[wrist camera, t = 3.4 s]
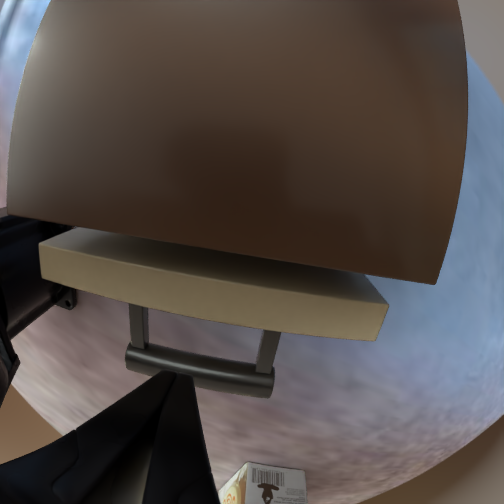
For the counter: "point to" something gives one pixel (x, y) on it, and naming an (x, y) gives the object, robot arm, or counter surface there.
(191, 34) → the cabinet
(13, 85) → the counter surface
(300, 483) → the coffee box
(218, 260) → the drawer
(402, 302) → the counter surface
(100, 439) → the robot arm
